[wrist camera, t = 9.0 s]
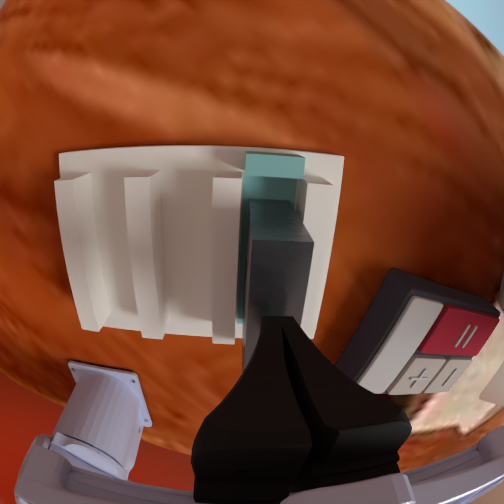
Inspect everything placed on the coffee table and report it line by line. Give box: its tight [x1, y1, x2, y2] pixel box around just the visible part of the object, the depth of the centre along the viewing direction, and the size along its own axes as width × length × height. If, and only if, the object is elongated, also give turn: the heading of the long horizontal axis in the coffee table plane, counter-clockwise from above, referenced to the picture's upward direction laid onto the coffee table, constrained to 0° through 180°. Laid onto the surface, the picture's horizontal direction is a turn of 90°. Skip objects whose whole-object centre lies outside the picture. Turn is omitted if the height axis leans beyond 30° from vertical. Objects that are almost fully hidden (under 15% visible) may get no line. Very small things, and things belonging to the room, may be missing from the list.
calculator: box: [335, 268, 500, 395], centre depth 23 cm, size 11×4×15 cm
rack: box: [54, 145, 344, 344], centre depth 19 cm, size 14×19×4 cm
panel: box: [242, 198, 314, 373], centre depth 17 cm, size 9×2×7 cm, turn 177°
